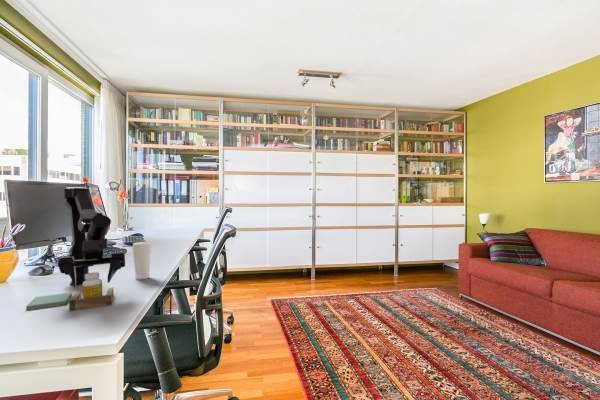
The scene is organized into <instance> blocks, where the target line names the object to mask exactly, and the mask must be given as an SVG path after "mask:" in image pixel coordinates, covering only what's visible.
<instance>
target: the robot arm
mask: <svg viewBox="0 0 600 400" xmlns="http://www.w3.org/2000/svg"><path fill="white" fill-rule="evenodd" d="M61 199H63V204H64V205H65V206H66V207H67V208H68V210H69V217H70V227H71V238H72V245H71V246H70V249H69V250H68V254H67V256H63V257H60V258H58V261H57V266H58V270H59V272H60V273H61V274H64V275H66V276H69V277H70V279H71V281H70V283H69V285H70V286H73V287H74V288H76V286H77V285H81V284H83V282H84V281H86V279H85V274H88V273H90V272H89V267H94V266H99V265H101V266H102V265H109V269H108V272H107V283H108V284H109V283H110V282H111V280H112V279H113V277H114V275H115V273H117V271H118V270H121V269H122V268H124V267H126V255H125V254H126V253H124V252H123V251H120V252H112V253H111V256H110V257H105V250H107V249H108V238H106V236H107V235H108V231H109V230H110V226H111V223H112V219H111V218H110V217H109V216H107V215H105V214H103V212H97V211H95V209H94V205H93V203H92V201H91V198H90V191H89V188H88V187H85V186H84V187H83V186H79V187H78V186H73V187H72V186H71V187H69V186H68V187H67V186H66V187H65V188H64V189H62V190H61Z"/></svg>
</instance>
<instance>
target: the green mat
mask: <svg viewBox="0 0 600 400" xmlns="http://www.w3.org/2000/svg"><path fill="white" fill-rule="evenodd" d="M72 294H73V293H72V292H64V293H57V294H50V295H49V294H48V295H41V296H35V297H34V298H33V299H32V300H30V302H29V303H28V304H27V305H26V306H25V310H26V311H31V310H37V309H43V308H51V307H58V306H65V305H67V303H69V301H70V299H71V298H72V296H73V295H72Z"/></svg>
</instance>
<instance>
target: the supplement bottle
mask: <svg viewBox="0 0 600 400" xmlns="http://www.w3.org/2000/svg"><path fill="white" fill-rule="evenodd" d="M85 279H86V281H84V282H83V283H82V287H81V288H82V298H89V297H96V296H103V280H102V279H101V278H100V273H99V272H89V273H88V274H85Z"/></svg>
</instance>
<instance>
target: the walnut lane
mask: <svg viewBox="0 0 600 400" xmlns="http://www.w3.org/2000/svg"><path fill="white" fill-rule="evenodd" d="M81 292H82V291H75V292H73V293H74V294H73V295H72V296H71V298H70V299H69V301H68V309H69V312H71V311H72V312H74V311H79V310H80V311H81V310H87V309H94V308H101V307H107V306H112V303H113V299H114V295H115V294H114V292H115V291H114V287H113V286H112V287H108V288H107V291H106V294H105V295H103V294H102V296H96V297H89V298H83V297H82V293H81Z"/></svg>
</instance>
